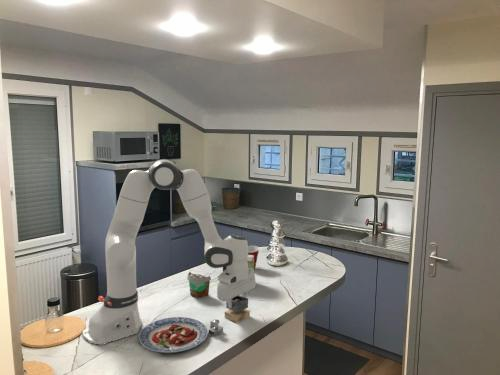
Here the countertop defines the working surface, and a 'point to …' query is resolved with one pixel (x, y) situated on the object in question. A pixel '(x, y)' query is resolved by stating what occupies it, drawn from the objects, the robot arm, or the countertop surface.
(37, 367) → the countertop surface
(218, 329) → the silver knob on block
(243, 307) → the grey square ring
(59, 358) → the countertop surface
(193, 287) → the food container
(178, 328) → the ceramic plate
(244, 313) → the keeper
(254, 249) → the plastic cup
